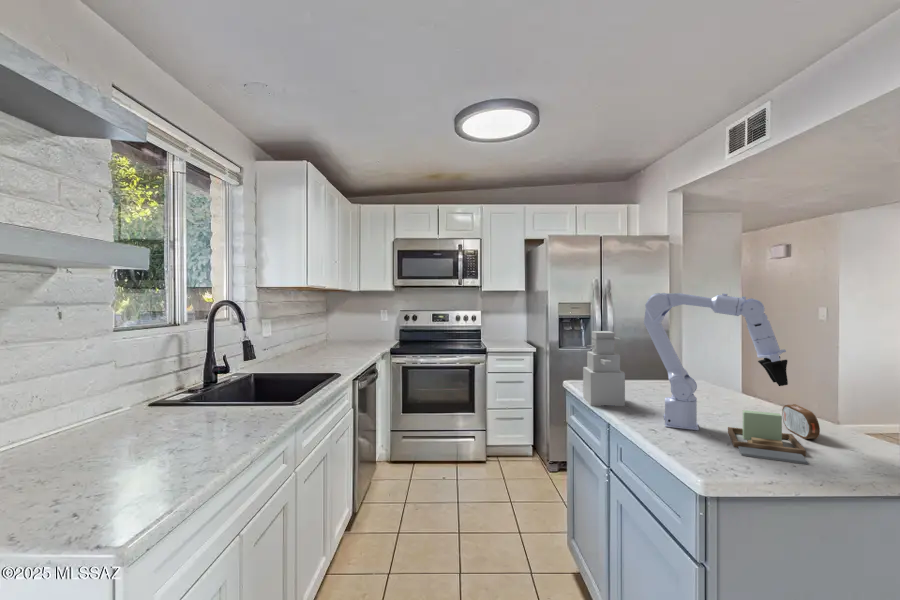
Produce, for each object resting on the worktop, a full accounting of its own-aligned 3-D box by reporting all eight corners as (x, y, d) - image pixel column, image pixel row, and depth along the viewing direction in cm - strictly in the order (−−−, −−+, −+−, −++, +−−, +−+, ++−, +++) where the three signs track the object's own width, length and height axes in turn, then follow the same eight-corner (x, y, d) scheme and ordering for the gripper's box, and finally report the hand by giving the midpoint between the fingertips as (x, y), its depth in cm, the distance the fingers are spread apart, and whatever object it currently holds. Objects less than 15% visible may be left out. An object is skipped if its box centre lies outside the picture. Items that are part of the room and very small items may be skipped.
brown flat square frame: (733, 447, 122) (733, 441, 122) (727, 431, 136) (727, 427, 136) (805, 456, 115) (805, 450, 115) (791, 439, 128) (791, 434, 128)
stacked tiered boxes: (610, 394, 186) (610, 329, 186) (629, 409, 163) (629, 334, 162) (580, 394, 187) (579, 329, 187) (593, 409, 164) (593, 334, 163)
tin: (821, 443, 125) (821, 414, 125) (808, 442, 125) (808, 413, 125) (791, 427, 139) (791, 401, 139) (780, 427, 140) (780, 400, 140)
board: (744, 439, 129) (744, 412, 129) (742, 436, 131) (742, 410, 131) (781, 444, 125) (781, 416, 125) (779, 440, 127) (779, 413, 127)
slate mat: (741, 455, 116) (741, 453, 116) (738, 448, 121) (738, 446, 121) (807, 464, 110) (807, 462, 110) (801, 456, 115) (801, 454, 115)
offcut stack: (748, 446, 124) (748, 439, 124) (747, 443, 126) (747, 436, 126) (783, 450, 121) (783, 443, 120) (781, 447, 123) (781, 440, 123)
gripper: (784, 335, 121) (803, 384, 119) (774, 333, 134) (790, 377, 132) (755, 342, 124) (773, 389, 122) (747, 339, 137) (763, 382, 135)
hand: (780, 383), depth 127 cm, fingers open, 7 cm apart
